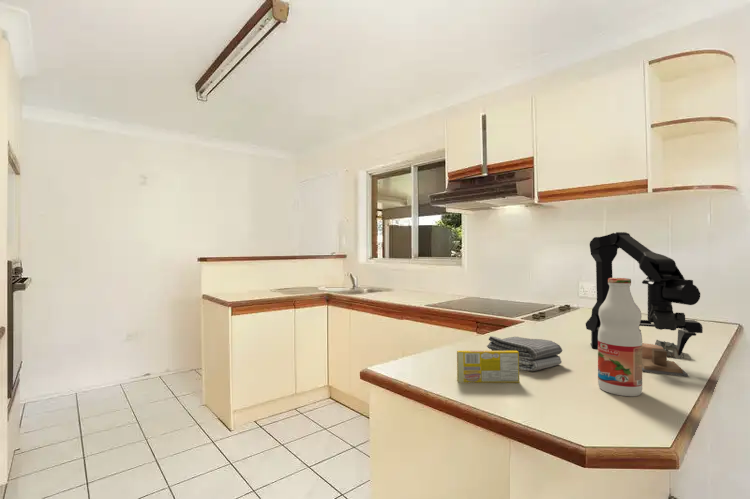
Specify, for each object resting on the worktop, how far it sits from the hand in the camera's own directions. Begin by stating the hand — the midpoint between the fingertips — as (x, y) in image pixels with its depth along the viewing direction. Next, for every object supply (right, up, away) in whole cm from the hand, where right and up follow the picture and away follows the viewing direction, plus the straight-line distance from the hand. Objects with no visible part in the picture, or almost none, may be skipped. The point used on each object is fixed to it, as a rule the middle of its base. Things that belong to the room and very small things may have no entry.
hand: (659, 353), depth 114 cm
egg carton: (+16, -5, +18) cm, 24 cm away
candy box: (-54, -5, -11) cm, 55 cm away
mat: (0, -5, 0) cm, 5 cm away
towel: (-38, -5, +7) cm, 39 cm away
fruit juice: (-23, -5, -17) cm, 29 cm away
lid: (0, -4, 0) cm, 4 cm away
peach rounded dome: (+5, -5, +11) cm, 13 cm away
